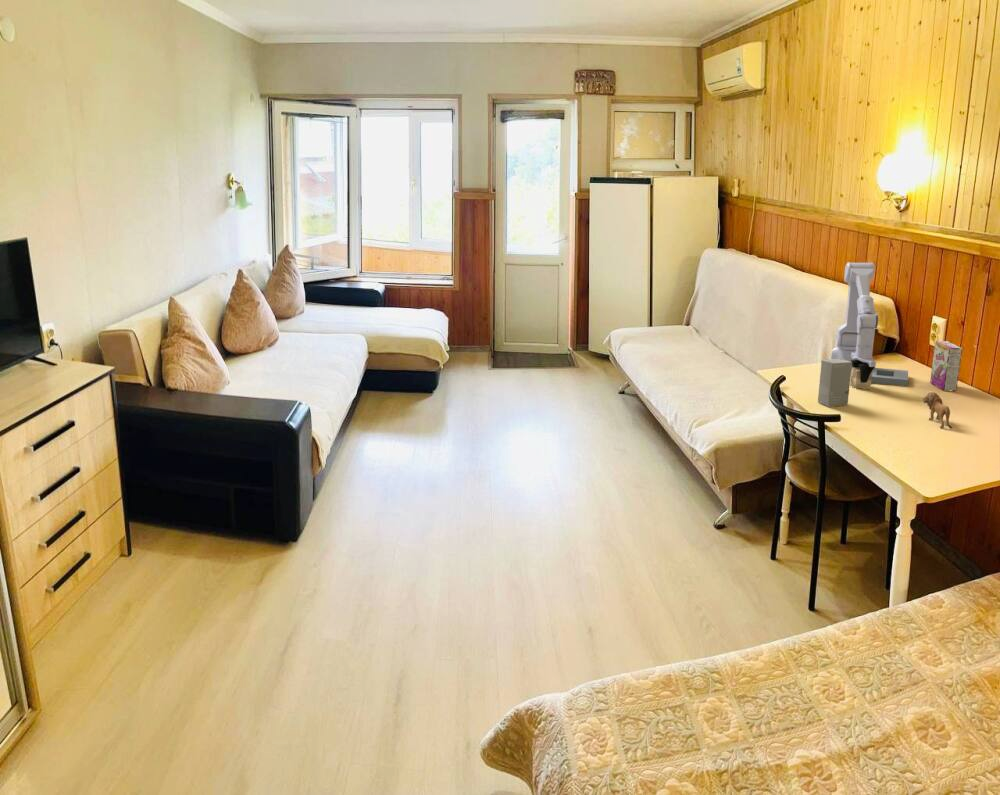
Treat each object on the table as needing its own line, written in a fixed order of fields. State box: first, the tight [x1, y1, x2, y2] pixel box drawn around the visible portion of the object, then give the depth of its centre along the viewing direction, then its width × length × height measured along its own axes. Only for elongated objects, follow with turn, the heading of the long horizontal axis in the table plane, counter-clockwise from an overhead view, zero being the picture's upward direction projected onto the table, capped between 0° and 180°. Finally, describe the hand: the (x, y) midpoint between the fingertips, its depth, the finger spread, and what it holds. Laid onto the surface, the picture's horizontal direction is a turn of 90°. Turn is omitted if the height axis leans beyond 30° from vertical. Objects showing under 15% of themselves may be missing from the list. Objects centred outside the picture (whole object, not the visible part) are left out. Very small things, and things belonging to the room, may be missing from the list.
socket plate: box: [871, 367, 909, 387], centre depth 321 cm, size 16×14×2 cm
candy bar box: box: [929, 340, 963, 392], centre depth 308 cm, size 11×5×16 cm, turn 179°
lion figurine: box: [922, 391, 953, 430], centre depth 271 cm, size 15×5×9 cm, turn 6°
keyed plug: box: [850, 368, 873, 389], centre depth 312 cm, size 4×6×7 cm, turn 95°
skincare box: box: [817, 358, 852, 408], centre depth 292 cm, size 8×7×16 cm
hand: (860, 380), depth 312 cm, fingers closed on keyed plug, 4 cm apart
